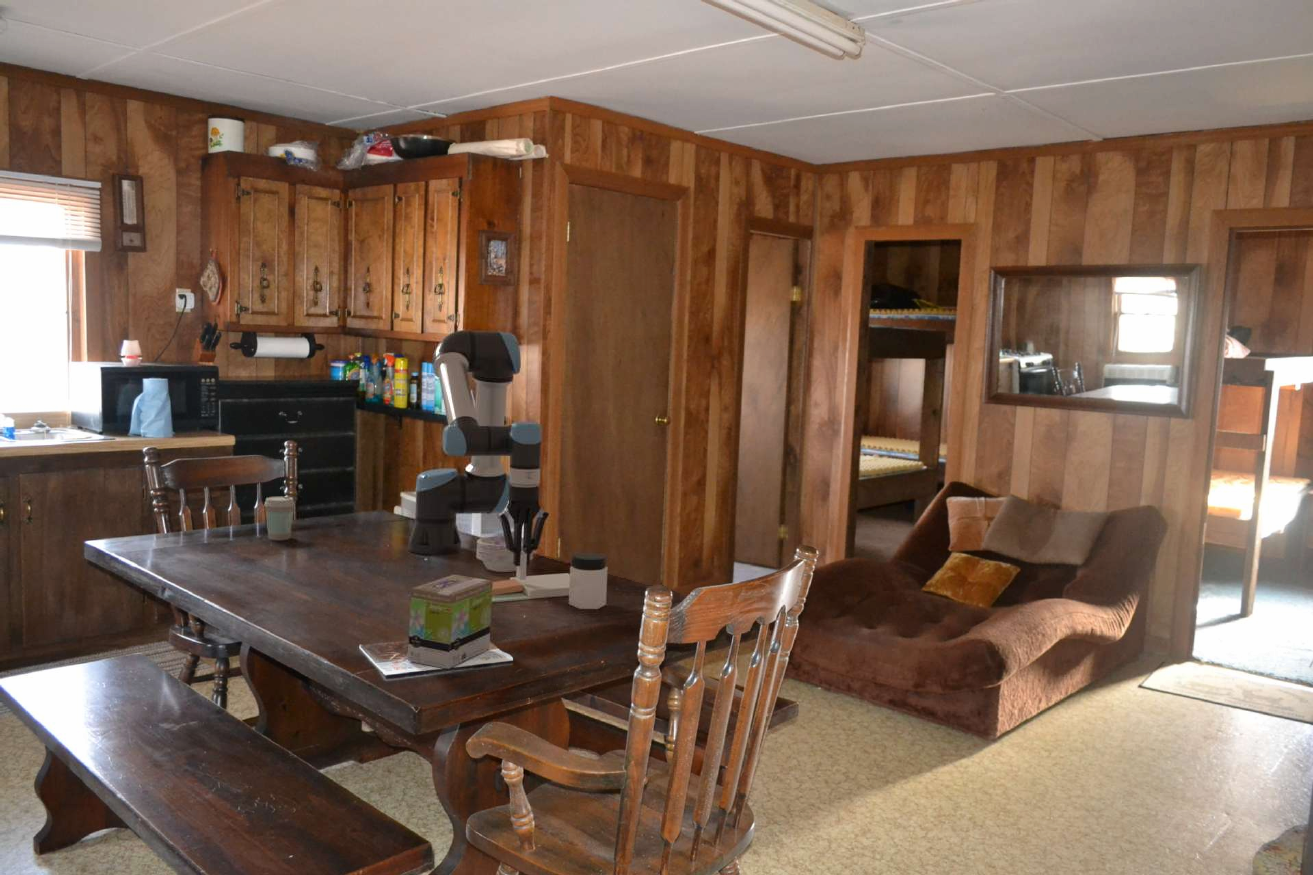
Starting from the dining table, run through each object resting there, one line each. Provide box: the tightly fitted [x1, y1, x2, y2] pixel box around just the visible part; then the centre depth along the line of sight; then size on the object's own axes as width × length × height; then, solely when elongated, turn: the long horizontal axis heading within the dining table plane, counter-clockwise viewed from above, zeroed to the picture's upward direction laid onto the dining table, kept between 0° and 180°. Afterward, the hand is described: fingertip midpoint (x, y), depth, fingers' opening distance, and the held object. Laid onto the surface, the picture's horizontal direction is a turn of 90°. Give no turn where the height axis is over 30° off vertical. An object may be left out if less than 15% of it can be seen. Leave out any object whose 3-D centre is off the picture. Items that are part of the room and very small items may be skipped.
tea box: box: [407, 574, 494, 670], centre depth 205 cm, size 15×10×15 cm, turn 158°
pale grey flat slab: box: [509, 572, 570, 600], centre depth 261 cm, size 14×16×2 cm
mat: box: [492, 591, 531, 604], centre depth 254 cm, size 15×15×1 cm
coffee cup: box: [263, 496, 296, 541], centre depth 304 cm, size 8×9×12 cm
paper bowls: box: [476, 535, 534, 573], centre depth 281 cm, size 15×15×8 cm
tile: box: [492, 579, 523, 595], centre depth 255 cm, size 6×9×2 cm, turn 119°
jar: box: [568, 552, 608, 610], centre depth 248 cm, size 9×8×12 cm
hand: (521, 578), depth 257 cm, fingers closed
